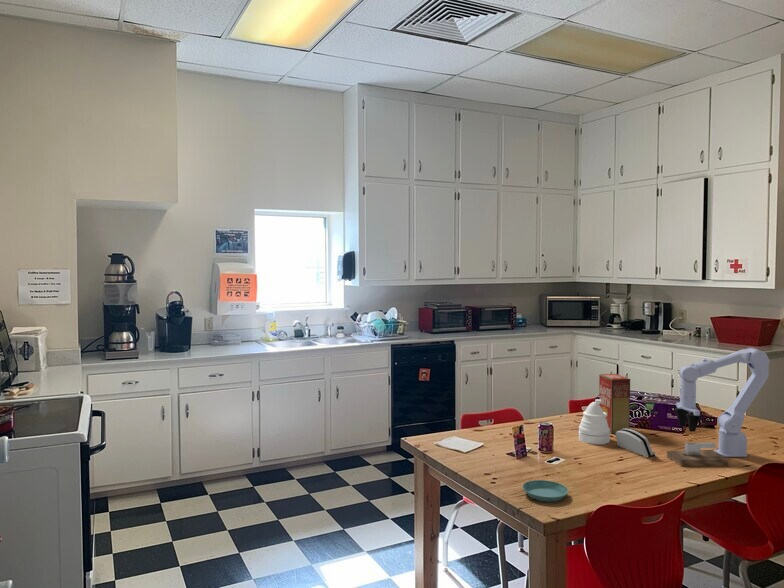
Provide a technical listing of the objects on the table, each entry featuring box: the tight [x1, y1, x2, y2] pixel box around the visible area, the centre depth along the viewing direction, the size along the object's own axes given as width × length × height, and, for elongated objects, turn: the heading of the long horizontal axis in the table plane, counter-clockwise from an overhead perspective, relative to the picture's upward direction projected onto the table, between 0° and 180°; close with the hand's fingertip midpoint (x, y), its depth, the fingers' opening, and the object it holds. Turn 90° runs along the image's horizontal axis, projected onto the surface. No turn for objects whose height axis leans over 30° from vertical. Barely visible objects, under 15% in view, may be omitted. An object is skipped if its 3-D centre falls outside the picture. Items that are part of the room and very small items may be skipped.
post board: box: [666, 449, 729, 467], centre depth 228 cm, size 18×11×2 cm, turn 92°
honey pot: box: [578, 398, 611, 445], centre depth 255 cm, size 13×13×18 cm
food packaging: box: [598, 373, 631, 435], centre depth 271 cm, size 13×9×25 cm
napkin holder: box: [614, 428, 656, 458], centre depth 240 cm, size 17×5×10 cm, turn 19°
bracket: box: [684, 442, 717, 456], centre depth 228 cm, size 11×2×7 cm, turn 92°
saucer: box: [521, 479, 569, 503], centre depth 195 cm, size 15×15×3 cm
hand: (687, 428), depth 239 cm, fingers open, 7 cm apart
